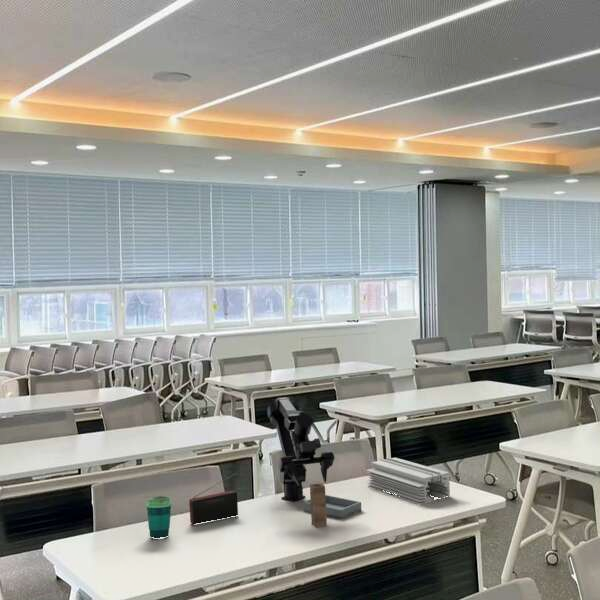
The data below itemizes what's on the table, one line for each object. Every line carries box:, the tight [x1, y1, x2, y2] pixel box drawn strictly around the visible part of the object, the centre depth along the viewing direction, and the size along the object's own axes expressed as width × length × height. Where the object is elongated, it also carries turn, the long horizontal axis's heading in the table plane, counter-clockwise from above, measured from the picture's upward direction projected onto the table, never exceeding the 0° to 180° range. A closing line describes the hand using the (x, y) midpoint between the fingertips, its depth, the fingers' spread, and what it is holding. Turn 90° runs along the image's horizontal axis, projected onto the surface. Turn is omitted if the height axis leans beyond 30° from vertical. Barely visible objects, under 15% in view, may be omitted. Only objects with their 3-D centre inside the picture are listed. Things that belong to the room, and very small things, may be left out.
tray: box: [302, 494, 362, 520], centre depth 273 cm, size 17×11×3 cm, turn 48°
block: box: [309, 482, 328, 528], centre depth 258 cm, size 4×4×13 cm
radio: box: [188, 471, 240, 525], centre depth 268 cm, size 19×3×15 cm, turn 120°
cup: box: [145, 495, 172, 538], centre depth 254 cm, size 8×8×12 cm
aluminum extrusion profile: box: [366, 456, 451, 505], centre depth 292 cm, size 14×31×10 cm, turn 32°
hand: (312, 483), depth 264 cm, fingers open, 9 cm apart
